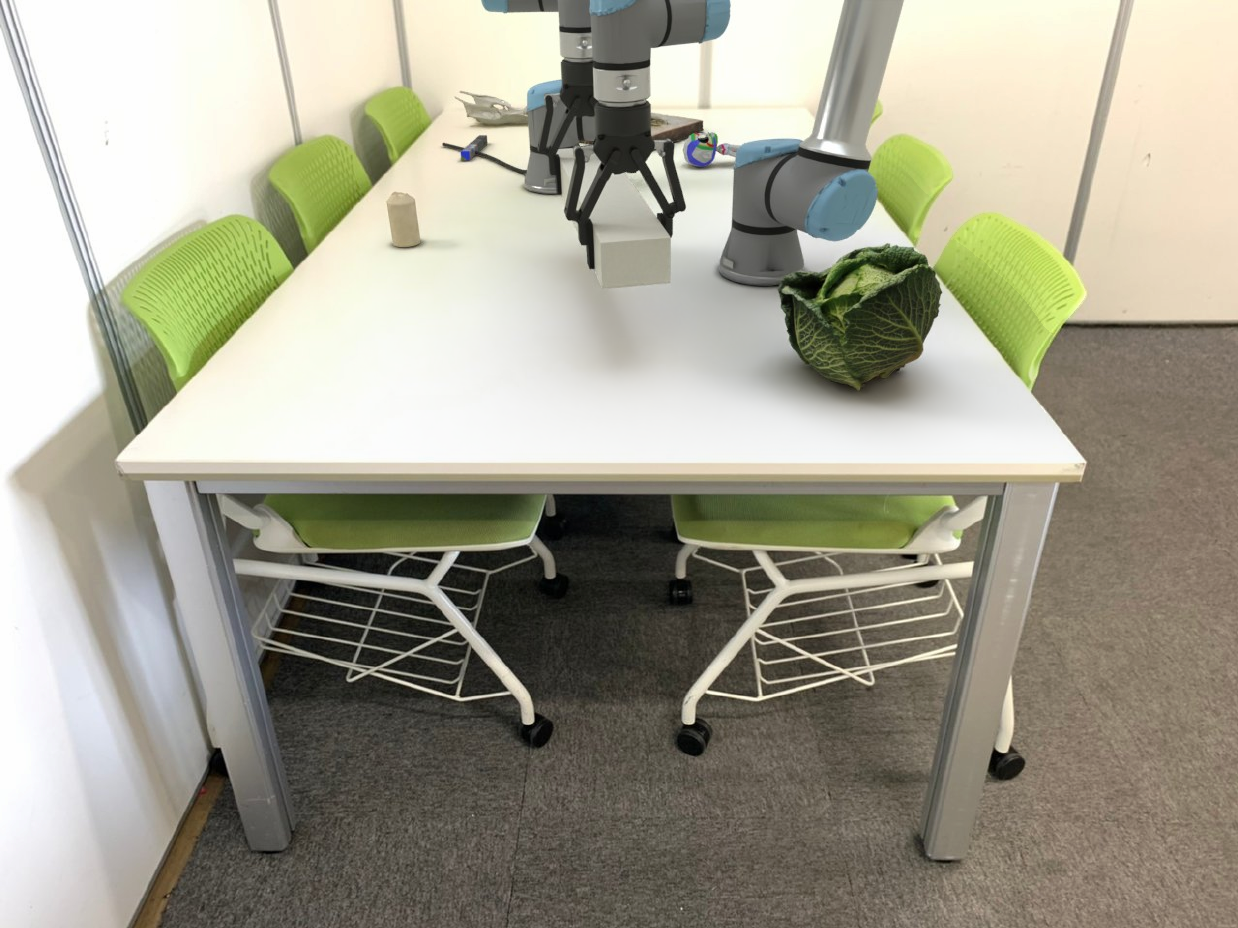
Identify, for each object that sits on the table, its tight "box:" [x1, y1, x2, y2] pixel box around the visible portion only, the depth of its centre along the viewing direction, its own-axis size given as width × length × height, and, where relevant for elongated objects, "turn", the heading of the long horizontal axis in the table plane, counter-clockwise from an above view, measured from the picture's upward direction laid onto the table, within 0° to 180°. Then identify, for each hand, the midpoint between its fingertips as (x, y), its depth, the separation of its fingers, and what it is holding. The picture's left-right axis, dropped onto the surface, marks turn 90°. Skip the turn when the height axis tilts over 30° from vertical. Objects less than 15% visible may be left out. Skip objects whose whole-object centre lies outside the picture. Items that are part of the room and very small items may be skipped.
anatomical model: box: [454, 90, 528, 126], centre depth 274 cm, size 15×9×25 cm
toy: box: [682, 131, 746, 168], centre depth 228 cm, size 10×8×30 cm
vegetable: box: [777, 242, 943, 392], centre depth 124 cm, size 20×19×20 cm
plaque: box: [579, 112, 705, 145], centre depth 257 cm, size 30×7×30 cm
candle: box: [385, 191, 421, 248], centre depth 178 cm, size 6×6×10 cm
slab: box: [556, 148, 672, 290], centre depth 146 cm, size 55×10×7 cm, turn 10°
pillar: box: [460, 134, 489, 162], centre depth 244 cm, size 2×2×20 cm
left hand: (587, 190), depth 164 cm, fingers closed on slab, 10 cm apart
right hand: (626, 262), depth 131 cm, fingers closed on slab, 10 cm apart
